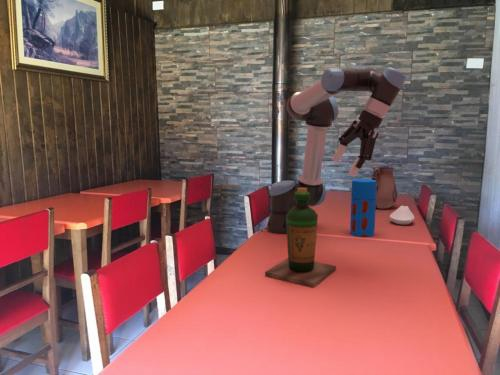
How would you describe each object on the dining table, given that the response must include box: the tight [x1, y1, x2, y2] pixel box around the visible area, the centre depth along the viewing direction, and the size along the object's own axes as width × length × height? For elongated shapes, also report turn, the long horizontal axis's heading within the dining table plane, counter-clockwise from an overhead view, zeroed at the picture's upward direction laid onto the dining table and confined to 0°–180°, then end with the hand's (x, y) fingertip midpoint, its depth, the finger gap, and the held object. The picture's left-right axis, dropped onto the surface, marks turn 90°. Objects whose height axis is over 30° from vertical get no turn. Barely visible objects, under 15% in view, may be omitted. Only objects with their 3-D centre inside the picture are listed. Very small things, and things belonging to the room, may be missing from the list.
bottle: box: [286, 188, 319, 272], centre depth 134 cm, size 11×11×28 cm
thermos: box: [349, 178, 377, 238], centre depth 181 cm, size 11×11×25 cm
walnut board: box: [264, 257, 337, 288], centre depth 136 cm, size 18×18×2 cm
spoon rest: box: [389, 205, 415, 226], centre depth 206 cm, size 24×12×7 cm, turn 155°
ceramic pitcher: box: [370, 165, 398, 210], centre depth 236 cm, size 18×21×25 cm
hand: (342, 168), depth 141 cm, fingers open, 13 cm apart
